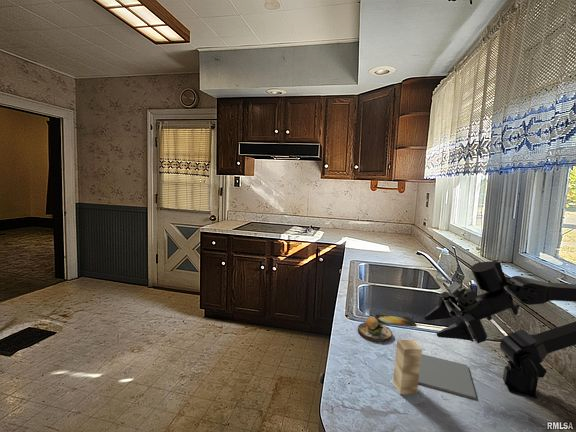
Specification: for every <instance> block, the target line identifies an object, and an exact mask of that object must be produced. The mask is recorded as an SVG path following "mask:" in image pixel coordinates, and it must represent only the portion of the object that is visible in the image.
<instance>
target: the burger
mask: <svg viewBox="0 0 576 432" xmlns="http://www.w3.org/2000/svg"><path fill="white" fill-rule="evenodd" d="M368 317H369V318H367V319H366V321H365V322H362V323H360V324H359V325H358V326H357V333H358V335H360V337H361V338H362V339H364V340H365V341H369V342H376V343H387V342H388V341H389V339H390V338H392V336H393V332H392V329H390V328H389V327H388V326H386V325H385V324H379V323H378V321H377V319H375V318H374V317H370V316H368Z"/></svg>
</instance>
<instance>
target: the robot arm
mask: <svg viewBox="0 0 576 432" xmlns="http://www.w3.org/2000/svg"><path fill="white" fill-rule="evenodd" d="M470 271H471V273H472V275H473V278H474V279H475V282H476V284H477V286H478V288H479V289H480V290H481V291H485V292H482V293H480V294H477V293H476V292H475V291H474V290H472V288H465V287H463V286H462V285H461V284H460V283H459V282H458V281H456V280H454V281H453V282H452V283H451V284H450V285H449V286H447V287H446V290H447V291H443V292H440V293H439V296H438V304H437V305H435V307H434V308H433V309H432V310H430V311H429V312H428V313H427V314H425V315H424V320H425V321H427V322H428V321H438V320H444V319H445V320H446V319H451V318H452V317H456V316H457V317H458V318H457V319H456V321H455V322H454V323H453V324H451V325H448V326H447V327H445V328H443V329H440V330H439V331H437V332H436V337H438V338H442V339H444V338H445V339H454V340H455V339H456V340H464V341H470V342H471V343H473V342H474V341H475V342H476V344H481V343H483V342H486V340H487V338H488V334H487V332H486V329H485V328H484V325H483V323H482V321H481V320H483V319H486V320H487V321H488V322H489V321H491V320H493V317H492V316H494V315H497V314H499V313H502V312H504V311H509V312H510V313H511V314H513V315H514V316H517V315H518V313H519V308H520V307H521V306H520V305H519V304H518V303H517V302H515V301H514V299H516V300H517V301H519V302H521V303H522V304H525V305H528V306H531V305H532V306H533V305H544V304H546V303H548V302H552V301H553V302H554V301H555V302H556V301H557V302H558V301H559V302H573V303H574V302H575V303H576V283H561V282H559V283H558V282H546V281H545V282H544V281H541V280H537V279H535V278H530V277H527V276H526V277H525V276H521V275H514V276H511V277H510V276H505V273H504V271H503V267H502V264H501V263H500V261H497V260H496V259H495V260H491V261H482V262H480V261H479V262H477V263H474V264H473V265H472V266H471V267H470ZM513 298H514V299H513ZM574 346H576V321H573V322H570V323H567V324H564V325H561V326H557V327H554V328H551V329H548V330H545V331H542V332H540V333H539V332H538V333H535V334H529V333H528V332H526V331H525V330H524V329H518V330H517V331H515V332H511V333H510V332H508V333H506V336H504V337H502V338H501V340H500V343H499V348H500V350H501V352H502V353H503V355H504V357H505V358H506V359H507V360H508V361H507V364H506V365H505V366H504V367H503V375H502V376H503V377H502V381H503V382H504V385H505V386H506V388H507V390H508V392H511V393H514V394H518V395H522V396H526V397H530V398H534V399H539V395H538V393H537V389H538V382H539V378H540V379H543V378H544V377H545V375H546V374H547V372H548V371H547V369H546V368H545V367H544V366H543V365H542V364H541V363H542V362H543V361H544V360H545V359H546V357H547V355H548V354H552V353H553V352H557V351H560V350H563V349H567V348H570V347H574Z"/></svg>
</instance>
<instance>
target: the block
mask: <svg viewBox="0 0 576 432" xmlns="http://www.w3.org/2000/svg"><path fill="white" fill-rule="evenodd" d="M422 351H423V349H422V348H421V347H420V345H419V343H417V342H416V340H414V339H397V340H396V349H395V359H394V367H393V368H394V369H393V380H392V383H393V385H394V386H395V388H396V390H397V392H398V393H399V395H418V388H419V384H418V380H419V371H420V362H421V354H423V353H422Z"/></svg>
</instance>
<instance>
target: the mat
mask: <svg viewBox="0 0 576 432" xmlns="http://www.w3.org/2000/svg"><path fill="white" fill-rule="evenodd" d="M418 385H421V386H425V387H428V388H432V389H435V390H438V391H439V390H440V391H443V392H447V393H450V394H454V395H458V396H462V397H466V398H468V399H469V398H470V399H473V400H477V396H476V392H475V388H474V384H473V381H472V378H471V373H470V370H469V366H468V364H464V363H462V362H456V361H452V360H448V359H444V358H439V357H436V356H432V355H427V354H423V353H421V362H420V371H419V380H418Z"/></svg>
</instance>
